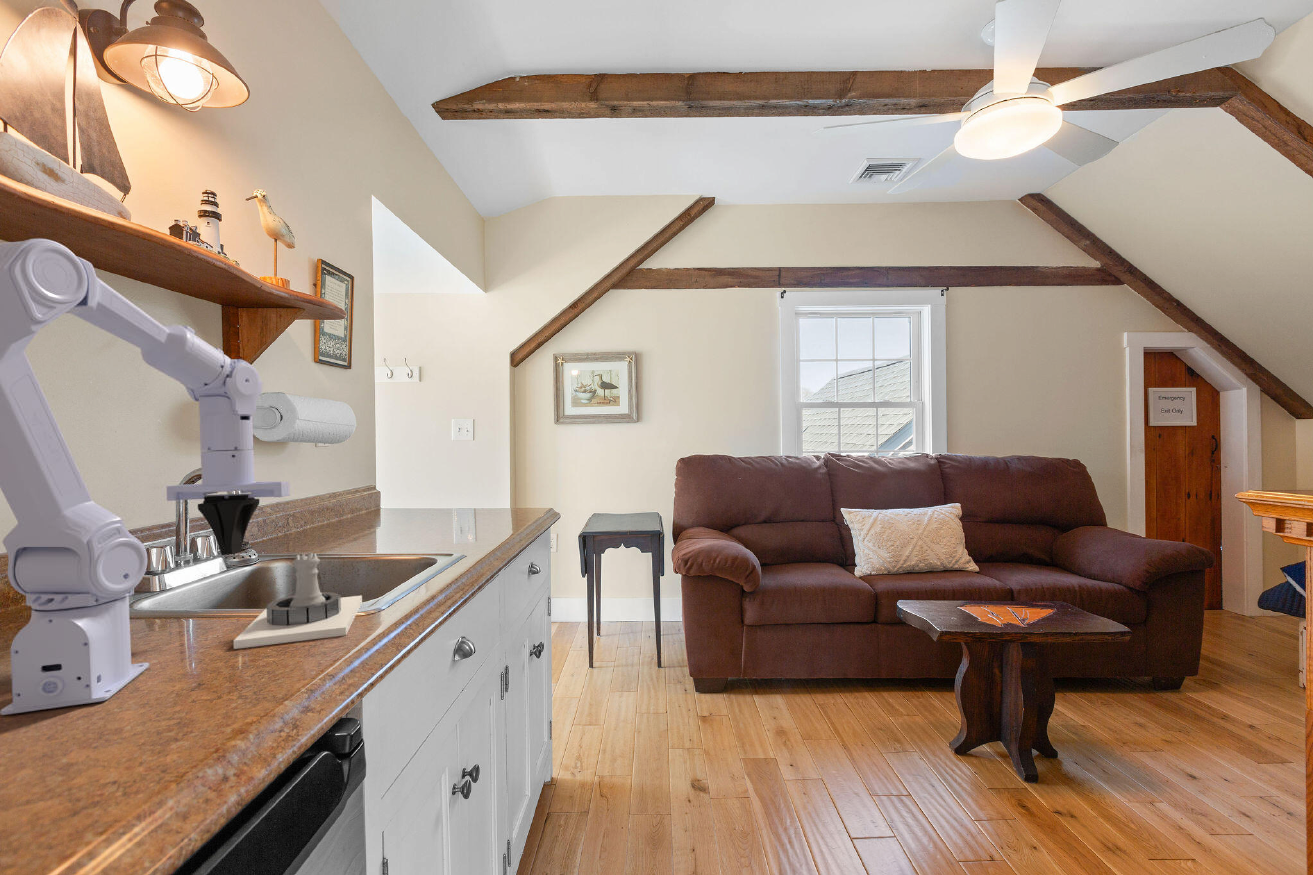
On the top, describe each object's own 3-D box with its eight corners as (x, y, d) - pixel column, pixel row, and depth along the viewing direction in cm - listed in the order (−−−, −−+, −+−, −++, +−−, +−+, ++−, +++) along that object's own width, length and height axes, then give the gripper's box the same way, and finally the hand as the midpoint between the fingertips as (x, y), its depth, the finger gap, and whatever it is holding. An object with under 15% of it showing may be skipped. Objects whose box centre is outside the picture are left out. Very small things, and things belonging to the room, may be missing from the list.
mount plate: (345, 635, 77) (345, 627, 77) (233, 649, 73) (233, 640, 73) (362, 602, 92) (361, 595, 92) (269, 612, 88) (269, 605, 88)
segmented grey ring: (334, 620, 80) (334, 604, 80) (260, 628, 77) (259, 613, 77) (344, 603, 88) (344, 589, 88) (277, 610, 85) (276, 596, 85)
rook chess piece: (334, 609, 85) (332, 551, 85) (312, 619, 81) (309, 558, 80) (304, 608, 86) (302, 551, 85) (281, 618, 81) (278, 558, 81)
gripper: (300, 448, 85) (303, 545, 86) (191, 451, 85) (195, 549, 85) (270, 449, 78) (274, 555, 78) (152, 453, 78) (156, 560, 78)
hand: (231, 553), depth 81 cm, fingers closed
